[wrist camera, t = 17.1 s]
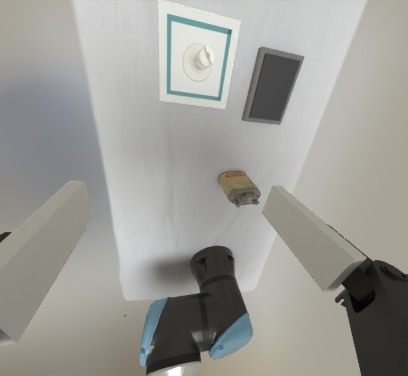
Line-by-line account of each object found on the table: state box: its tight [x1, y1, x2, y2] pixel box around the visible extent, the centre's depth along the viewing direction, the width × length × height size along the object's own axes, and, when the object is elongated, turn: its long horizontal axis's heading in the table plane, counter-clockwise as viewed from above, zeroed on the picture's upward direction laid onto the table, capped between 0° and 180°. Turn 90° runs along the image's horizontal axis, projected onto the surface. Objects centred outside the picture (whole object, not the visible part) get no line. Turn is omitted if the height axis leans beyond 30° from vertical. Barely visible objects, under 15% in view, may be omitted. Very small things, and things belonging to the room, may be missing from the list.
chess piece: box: [182, 43, 216, 82], centre depth 21 cm, size 5×5×10 cm
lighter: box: [218, 171, 261, 207], centre depth 35 cm, size 7×4×10 cm, turn 89°
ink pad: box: [242, 47, 304, 125], centre depth 29 cm, size 11×8×2 cm
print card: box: [158, 0, 241, 109], centre depth 26 cm, size 12×12×1 cm
